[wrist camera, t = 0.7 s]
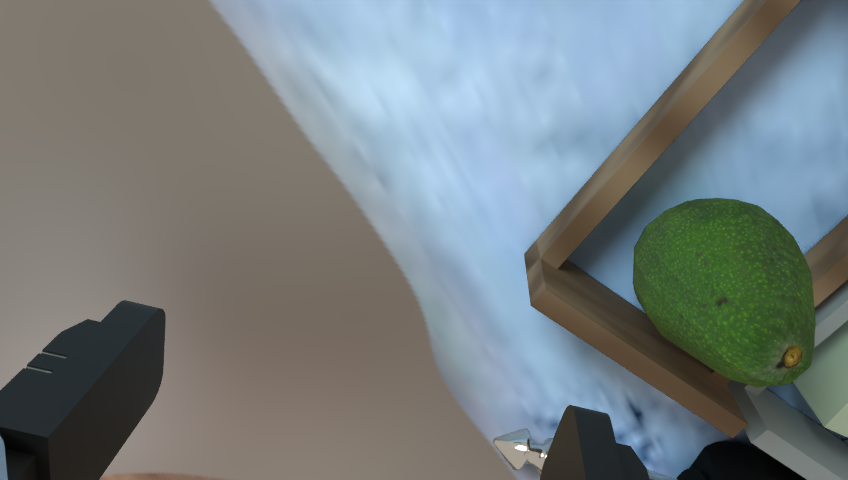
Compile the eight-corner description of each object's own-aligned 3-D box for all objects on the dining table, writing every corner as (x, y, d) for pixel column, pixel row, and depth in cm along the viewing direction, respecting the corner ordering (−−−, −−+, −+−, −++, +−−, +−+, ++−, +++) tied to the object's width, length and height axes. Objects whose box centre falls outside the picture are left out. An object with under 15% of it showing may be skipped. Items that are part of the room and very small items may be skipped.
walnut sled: (847, -119, 30) (944, -133, 24) (1047, 62, 32) (1184, 93, 26) (524, 254, 39) (532, 316, 33) (699, 372, 42) (738, 451, 35)
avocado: (707, 315, 40) (790, 457, 29) (594, 263, 39) (637, 390, 28) (792, 207, 37) (921, 321, 26) (670, 147, 36) (752, 240, 25)
